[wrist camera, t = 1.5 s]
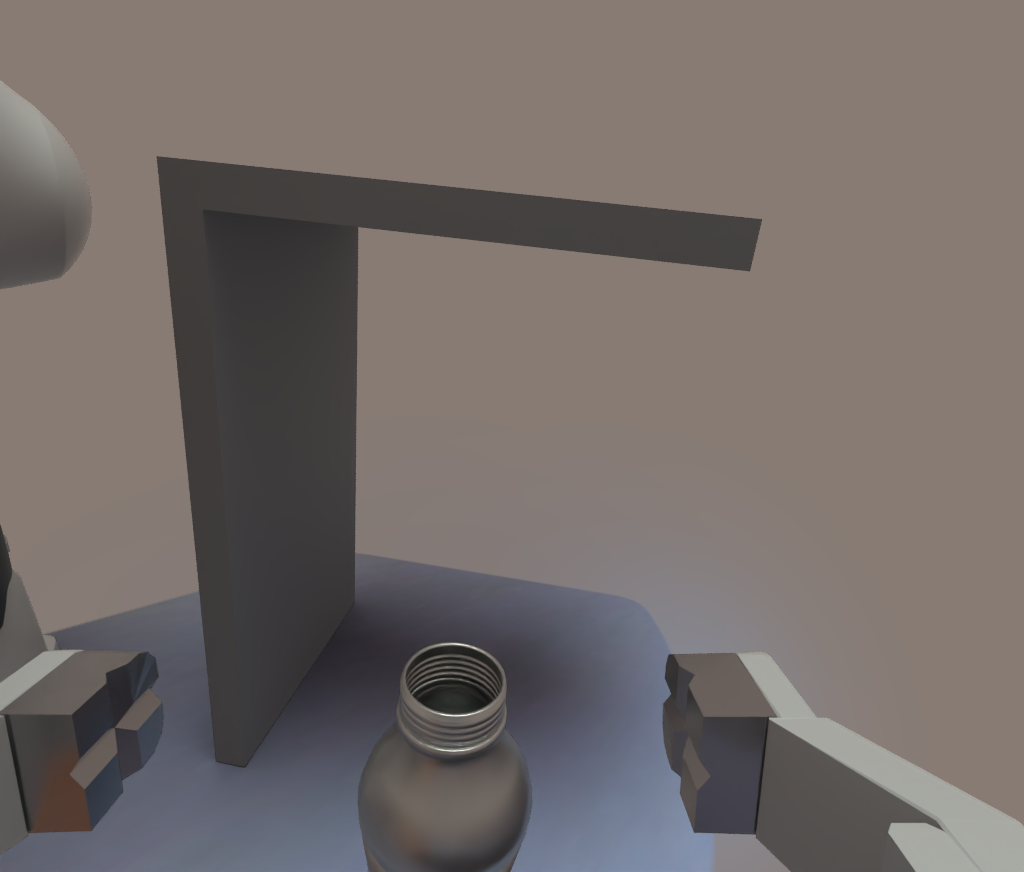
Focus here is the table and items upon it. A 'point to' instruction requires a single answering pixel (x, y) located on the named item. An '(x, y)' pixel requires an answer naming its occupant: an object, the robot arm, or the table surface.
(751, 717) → the robot arm
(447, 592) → the table surface
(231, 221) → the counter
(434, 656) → the plastic bottle
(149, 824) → the table surface
